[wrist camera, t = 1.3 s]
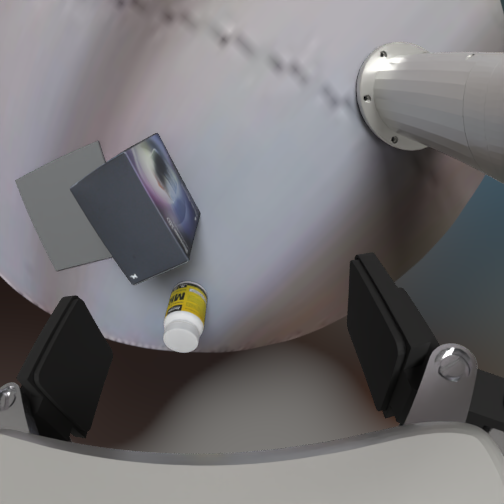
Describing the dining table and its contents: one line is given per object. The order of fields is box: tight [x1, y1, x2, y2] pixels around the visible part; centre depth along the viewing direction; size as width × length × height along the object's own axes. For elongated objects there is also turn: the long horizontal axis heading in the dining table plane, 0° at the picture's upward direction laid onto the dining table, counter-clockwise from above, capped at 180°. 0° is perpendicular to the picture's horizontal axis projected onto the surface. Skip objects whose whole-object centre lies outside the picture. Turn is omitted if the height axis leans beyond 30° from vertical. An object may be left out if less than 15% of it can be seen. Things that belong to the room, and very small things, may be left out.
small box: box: [70, 133, 200, 285], centre depth 27 cm, size 11×6×10 cm, turn 24°
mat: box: [15, 141, 112, 271], centre depth 32 cm, size 14×14×1 cm
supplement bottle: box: [163, 281, 207, 353], centre depth 36 cm, size 5×5×8 cm
